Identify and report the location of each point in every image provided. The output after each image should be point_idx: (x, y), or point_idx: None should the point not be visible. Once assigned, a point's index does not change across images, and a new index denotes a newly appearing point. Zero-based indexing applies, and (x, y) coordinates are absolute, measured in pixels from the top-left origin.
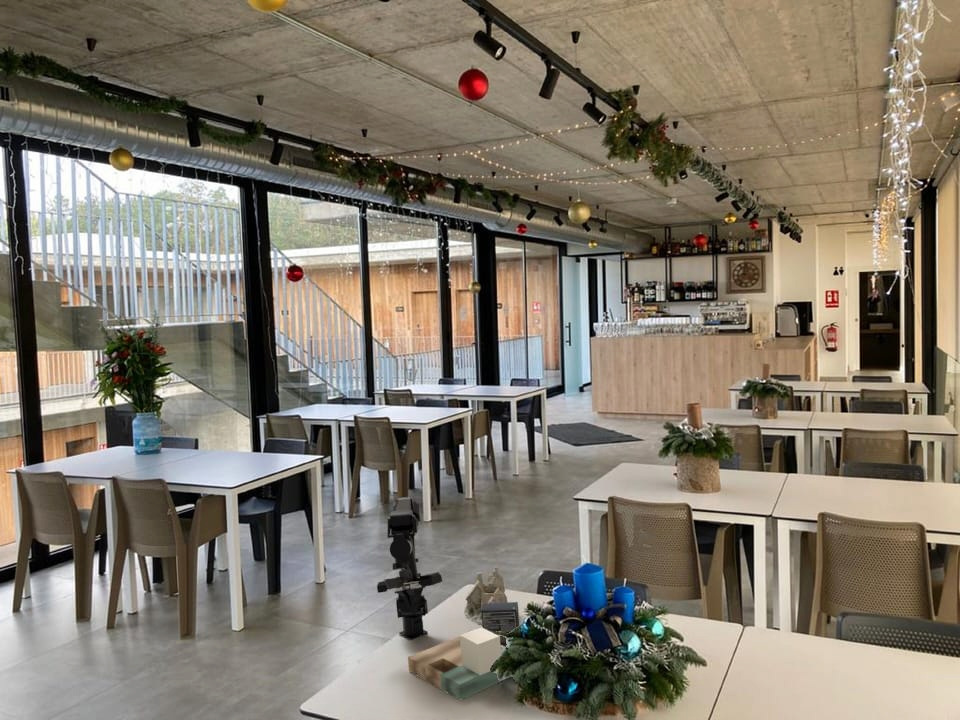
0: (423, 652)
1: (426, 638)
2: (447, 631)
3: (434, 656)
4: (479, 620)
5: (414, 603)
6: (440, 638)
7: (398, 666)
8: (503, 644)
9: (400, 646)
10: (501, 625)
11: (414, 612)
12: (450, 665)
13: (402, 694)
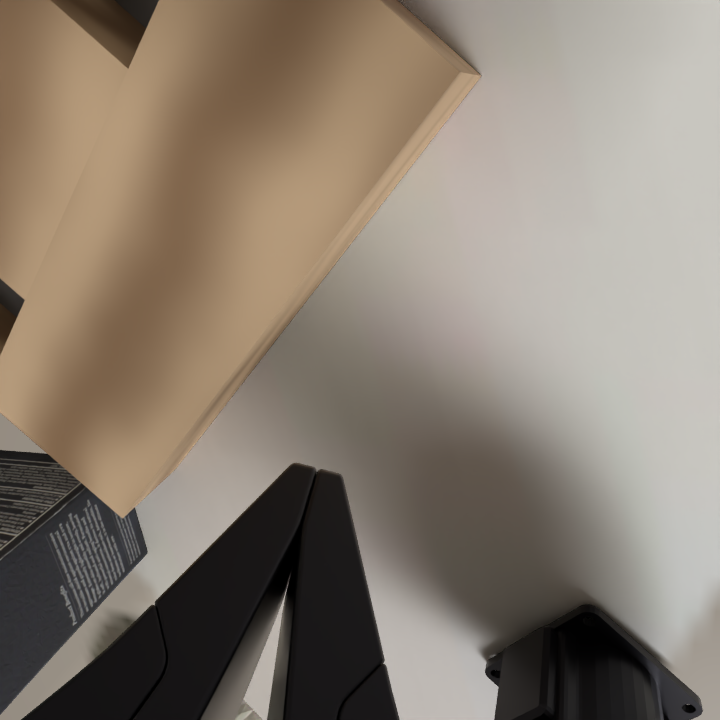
0: (333, 188)
1: (479, 604)
2: None
3: (209, 102)
4: None
5: (174, 595)
6: (387, 587)
7: (601, 171)
8: (29, 453)
9: (654, 523)
10: None
11: (278, 477)
12: (72, 3)
13: None
